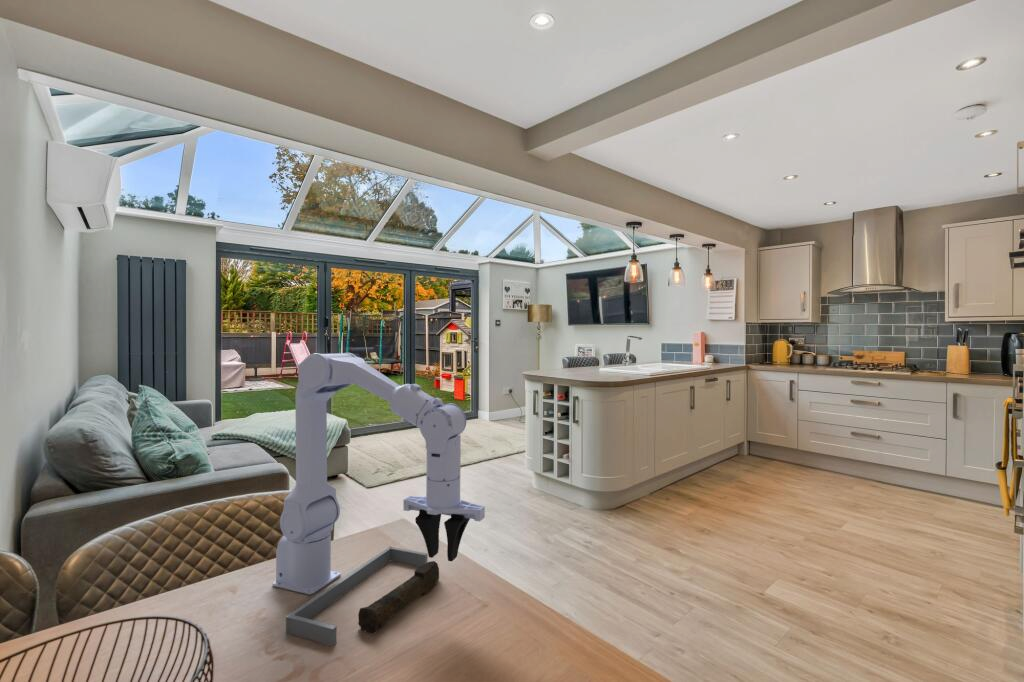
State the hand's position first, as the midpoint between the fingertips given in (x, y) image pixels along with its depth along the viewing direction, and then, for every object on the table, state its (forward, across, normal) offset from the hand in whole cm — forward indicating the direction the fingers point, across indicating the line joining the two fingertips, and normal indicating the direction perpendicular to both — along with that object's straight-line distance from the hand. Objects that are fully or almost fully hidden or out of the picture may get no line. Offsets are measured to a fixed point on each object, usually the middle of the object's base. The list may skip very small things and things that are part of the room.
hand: (442, 556), depth 80 cm
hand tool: (+10, -8, 0) cm, 13 cm away
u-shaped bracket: (+9, -16, 0) cm, 18 cm away
